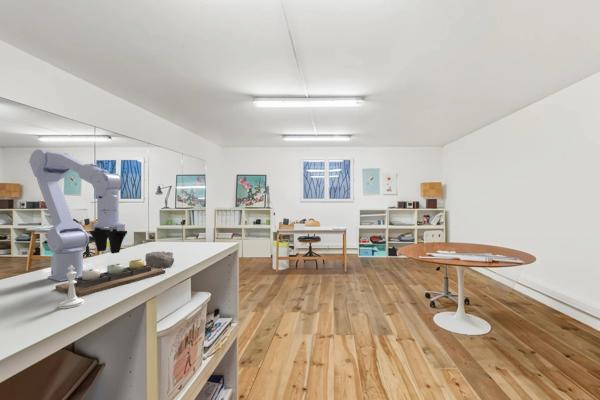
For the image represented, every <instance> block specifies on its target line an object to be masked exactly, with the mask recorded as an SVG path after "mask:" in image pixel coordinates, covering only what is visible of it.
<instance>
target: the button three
mask: <svg viewBox="0 0 600 400" xmlns="http://www.w3.org/2000/svg"><path fill="white" fill-rule="evenodd" d="M128 263H129V264H128V265H129V266H128V267H129V269H140V268H143V267H144V265H145V260H144V259H140V258H139V259H133V260H130V261H128Z"/></svg>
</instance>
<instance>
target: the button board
mask: <svg viewBox="0 0 600 400" xmlns="http://www.w3.org/2000/svg"><path fill="white" fill-rule="evenodd" d="M123 269H124V272H122V273H119V274H112V275H110V274H107V271H105V272H100V278H98V279H94V280H82V277H79V278H75V279H74V281H77V283H74V288H75V294H76V297H82V296H86V295H90V294H94V293H98V292H102V291H104V290H110V289H113V288H116V287H120V286H123V285H126V284H131V283H134V282H138V281H141V280H146V279H150V278H153V277H156V276H159V275H163V274H166V269H160V268H156V267H151V266H146V264H144V267H143V268H140V269H129V266H127V267H123ZM55 290H58V291H61V292H64V293H67V294H68V291H69V284H66V283H61V284H57V285H55Z"/></svg>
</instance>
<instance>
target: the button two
mask: <svg viewBox="0 0 600 400" xmlns="http://www.w3.org/2000/svg"><path fill="white" fill-rule="evenodd" d="M123 268H124V263H113V264H110V265H109V264H108V265H107V267H106V269H107V270H106V272H107V274H110V275H112V274H119V273H122V272H124V269H123Z"/></svg>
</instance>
